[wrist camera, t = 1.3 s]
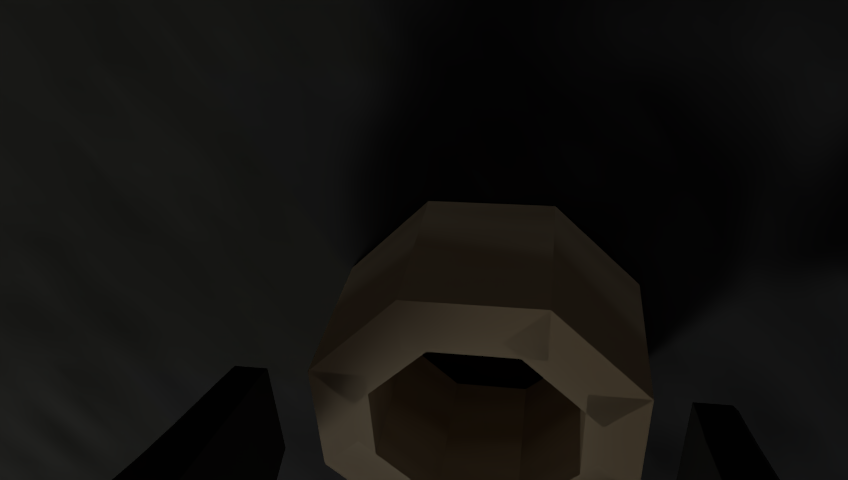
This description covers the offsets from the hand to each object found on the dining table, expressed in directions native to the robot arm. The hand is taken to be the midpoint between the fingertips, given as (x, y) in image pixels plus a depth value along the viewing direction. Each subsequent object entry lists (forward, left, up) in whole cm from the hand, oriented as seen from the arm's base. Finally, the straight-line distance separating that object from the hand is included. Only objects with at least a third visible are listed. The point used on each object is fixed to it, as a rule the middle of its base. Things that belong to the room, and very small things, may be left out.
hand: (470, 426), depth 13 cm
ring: (0, 0, -3) cm, 3 cm away
